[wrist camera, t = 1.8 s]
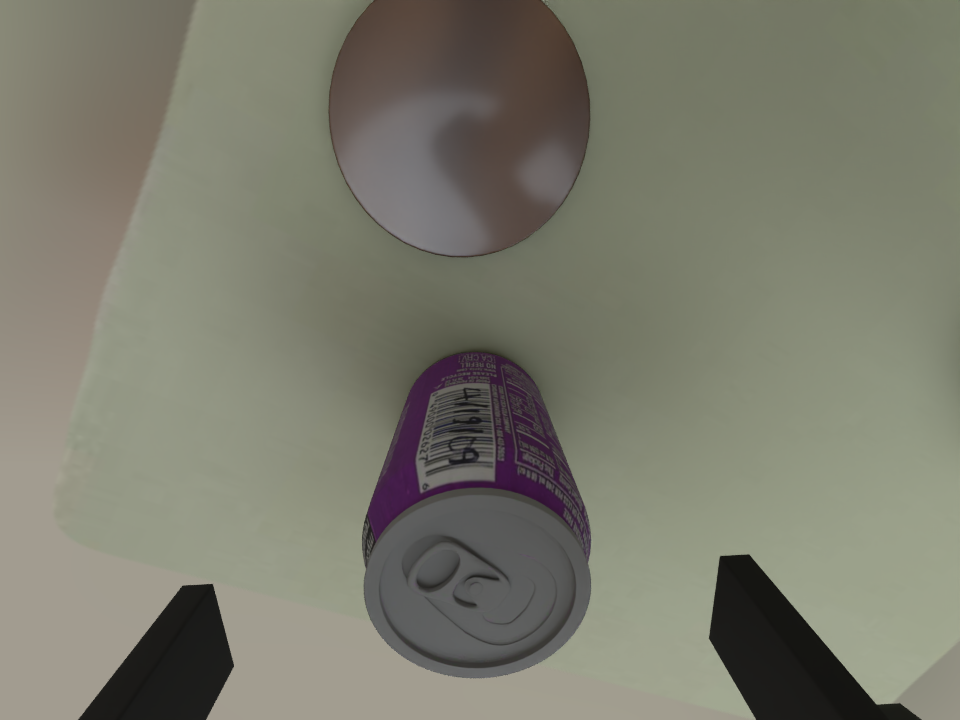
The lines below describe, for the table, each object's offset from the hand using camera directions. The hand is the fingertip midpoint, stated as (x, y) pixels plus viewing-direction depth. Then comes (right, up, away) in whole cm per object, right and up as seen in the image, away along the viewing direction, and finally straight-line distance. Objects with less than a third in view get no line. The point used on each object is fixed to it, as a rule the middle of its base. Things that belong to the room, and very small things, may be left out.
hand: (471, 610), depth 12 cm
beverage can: (0, +4, +12) cm, 13 cm away
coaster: (-1, +17, +8) cm, 18 cm away
